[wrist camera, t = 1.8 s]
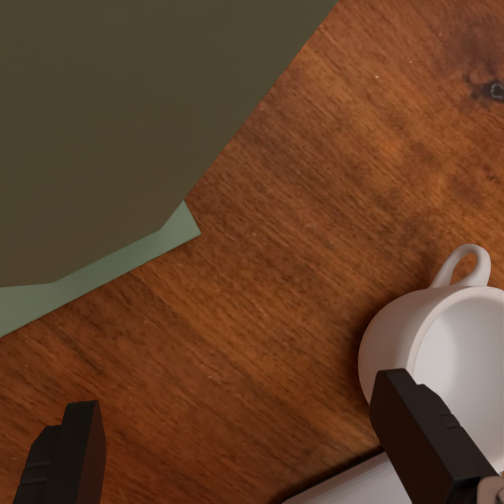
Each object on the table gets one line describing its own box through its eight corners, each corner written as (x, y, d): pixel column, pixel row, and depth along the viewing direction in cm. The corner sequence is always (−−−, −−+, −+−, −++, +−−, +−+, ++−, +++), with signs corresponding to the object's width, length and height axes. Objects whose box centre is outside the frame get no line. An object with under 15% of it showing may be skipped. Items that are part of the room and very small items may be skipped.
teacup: (444, 444, 23) (535, 491, 18) (320, 417, 21) (383, 462, 16) (478, 268, 25) (573, 266, 19) (365, 227, 23) (437, 213, 17)
